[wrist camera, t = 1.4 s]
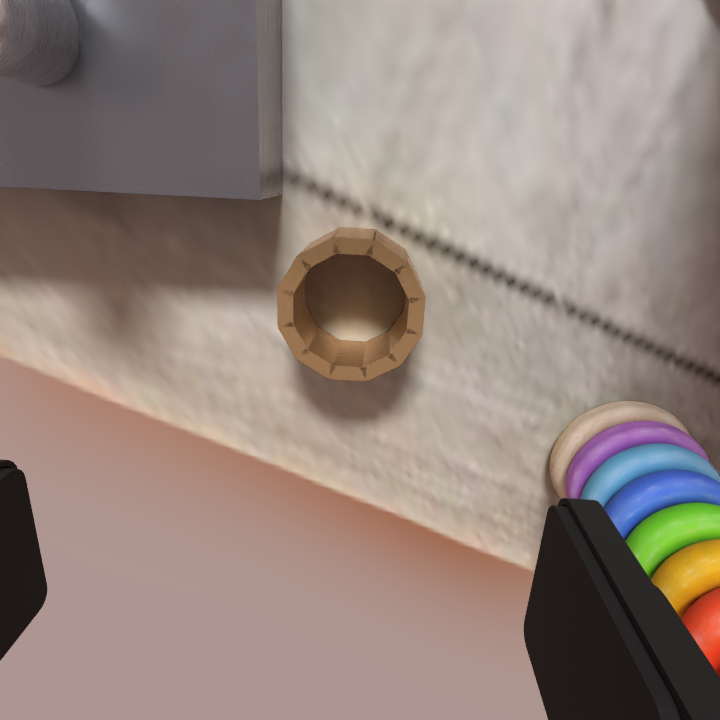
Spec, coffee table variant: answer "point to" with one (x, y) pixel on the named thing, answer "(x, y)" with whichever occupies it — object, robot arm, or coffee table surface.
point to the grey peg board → (142, 96)
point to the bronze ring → (326, 349)
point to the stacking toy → (652, 502)
